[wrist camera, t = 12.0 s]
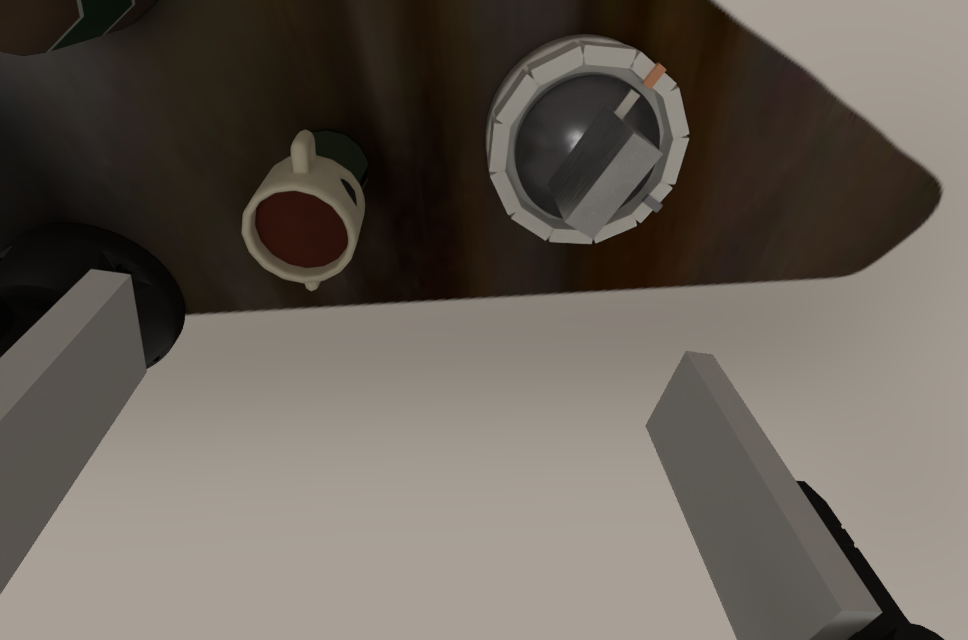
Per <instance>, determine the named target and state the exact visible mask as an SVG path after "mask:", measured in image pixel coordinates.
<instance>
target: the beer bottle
mask: <svg viewBox="0 0 968 640" xmlns="http://www.w3.org/2000/svg"><path fill="white" fill-rule="evenodd" d="M156 1H157V0H0V52H3V53H9V54H15V55H21V56H27V55H34V54H40V53H46V52H50V51H53V50H56V49H59V48H63V47H66V46H69V45H72V44H76V43H79V42H82V41H85V40H89V39H92V38H95V37H99V36H102V35H105V34H108V33H112V32H115V31H118V30H121V29H124V28H126V27H128V26H130V25H132V24H133V23H134V22H135V21H136V20H137V19H138V18H139V17H140V16H141V15H142V14H143V13H144V12H145V11H147V10H148V9H149V8H150V7H151V6H152V5H153V4H154V3H155V2H156Z"/></svg>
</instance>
